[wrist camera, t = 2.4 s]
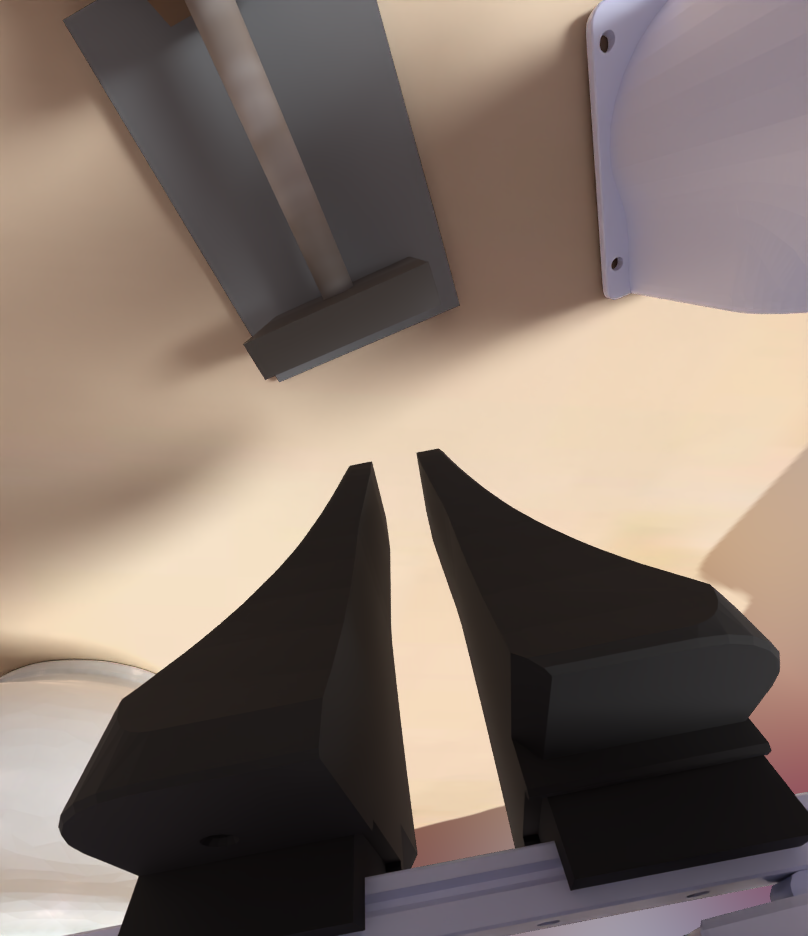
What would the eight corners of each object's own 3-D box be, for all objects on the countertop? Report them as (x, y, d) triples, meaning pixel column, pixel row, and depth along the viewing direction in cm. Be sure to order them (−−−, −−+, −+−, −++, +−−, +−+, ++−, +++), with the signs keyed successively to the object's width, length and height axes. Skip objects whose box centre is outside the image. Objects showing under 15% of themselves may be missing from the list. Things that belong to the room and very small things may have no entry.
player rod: (419, 287, 15) (451, 312, 10) (290, 343, 16) (253, 396, 10) (240, -264, 9) (25, -1175, 3) (33, -129, 9) (-451, -681, 4)
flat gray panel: (456, 303, 17) (459, 305, 16) (281, 378, 18) (279, 382, 17) (338, -124, 10) (337, -143, 10) (76, 30, 11) (62, 20, 11)
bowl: (207, 535, 22) (13, 904, 10) (335, 752, 39) (323, 985, 27) (-321, 628, 22) (-1211, 1132, 9) (41, 806, 39) (-106, 1066, 27)
